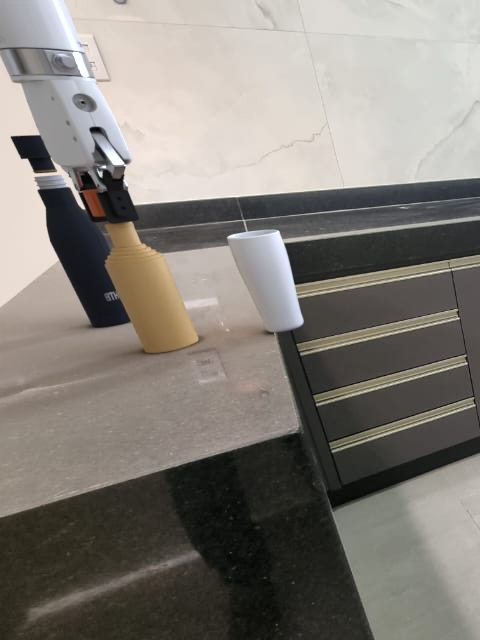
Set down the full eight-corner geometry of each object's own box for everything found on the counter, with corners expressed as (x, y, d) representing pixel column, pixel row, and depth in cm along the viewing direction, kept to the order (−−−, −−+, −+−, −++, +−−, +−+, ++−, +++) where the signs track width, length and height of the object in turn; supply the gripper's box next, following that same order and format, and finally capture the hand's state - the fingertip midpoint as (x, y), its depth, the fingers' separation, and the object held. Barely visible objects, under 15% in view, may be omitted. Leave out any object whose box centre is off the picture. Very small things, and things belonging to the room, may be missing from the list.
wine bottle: (112, 316, 95) (25, 136, 83) (150, 313, 96) (69, 134, 84) (81, 328, 89) (-17, 137, 77) (122, 325, 90) (31, 134, 78)
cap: (117, 215, 70) (105, 189, 69) (84, 217, 70) (72, 191, 69) (140, 211, 74) (129, 186, 73) (109, 213, 74) (98, 188, 72)
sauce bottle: (134, 351, 78) (74, 226, 70) (179, 335, 83) (128, 218, 76) (165, 354, 76) (107, 227, 69) (208, 338, 82) (159, 218, 74)
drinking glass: (298, 318, 89) (268, 228, 83) (317, 324, 85) (287, 231, 79) (253, 331, 84) (218, 236, 78) (272, 338, 80) (236, 239, 74)
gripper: (123, 66, 65) (181, 219, 72) (59, 77, 71) (117, 215, 79) (41, 61, 59) (113, 228, 66) (-22, 73, 65) (50, 224, 72)
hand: (115, 220), depth 72 cm, fingers closed on cap, 3 cm apart
